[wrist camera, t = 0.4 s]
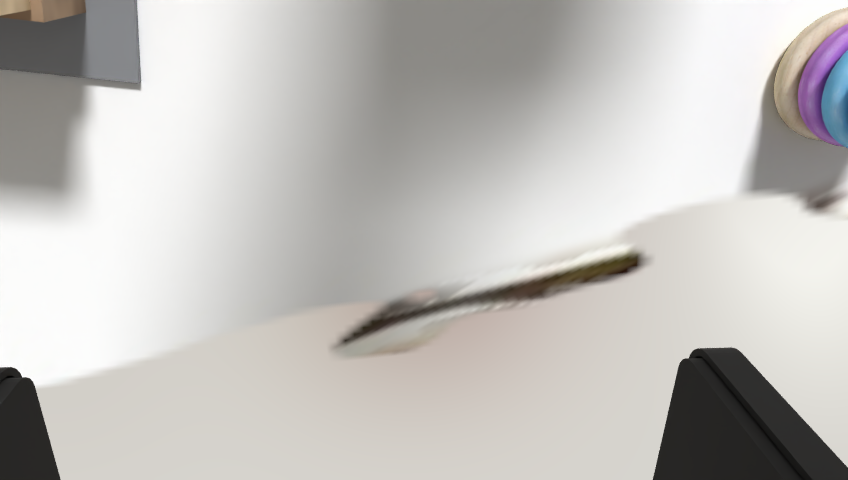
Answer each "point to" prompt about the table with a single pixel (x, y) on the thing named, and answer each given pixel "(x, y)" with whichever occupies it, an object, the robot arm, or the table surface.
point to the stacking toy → (816, 81)
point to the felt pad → (77, 43)
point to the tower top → (14, 6)
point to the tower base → (49, 10)
